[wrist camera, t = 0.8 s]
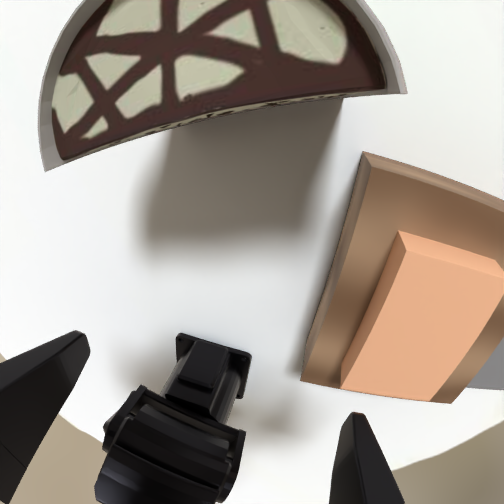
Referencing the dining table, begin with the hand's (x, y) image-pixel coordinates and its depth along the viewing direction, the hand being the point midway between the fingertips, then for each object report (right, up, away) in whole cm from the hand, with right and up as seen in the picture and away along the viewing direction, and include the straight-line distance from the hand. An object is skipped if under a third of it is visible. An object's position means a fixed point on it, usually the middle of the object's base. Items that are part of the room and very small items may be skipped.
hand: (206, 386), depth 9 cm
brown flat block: (+12, +2, +9) cm, 16 cm away
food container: (+1, +15, +6) cm, 16 cm away
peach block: (+10, +1, +6) cm, 12 cm away
